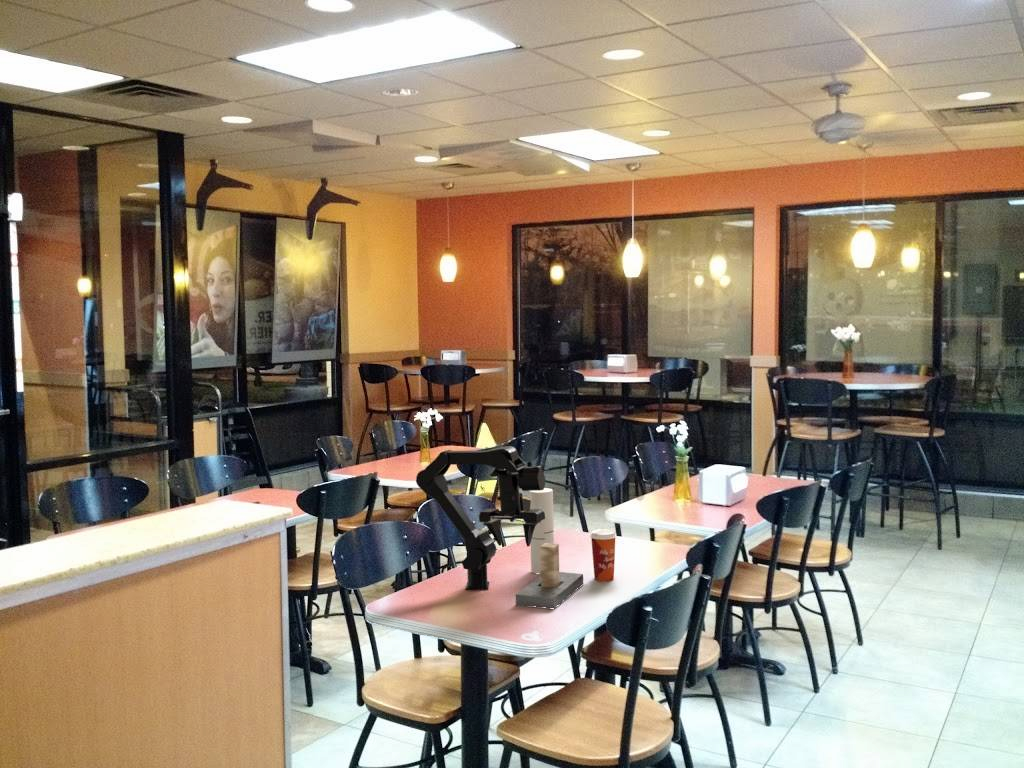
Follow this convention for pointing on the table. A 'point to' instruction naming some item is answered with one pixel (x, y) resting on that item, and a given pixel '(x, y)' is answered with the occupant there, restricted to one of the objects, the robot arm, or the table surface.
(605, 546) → the paper cup
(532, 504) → the cylindrical container
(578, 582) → the socket plate
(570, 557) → the table surface
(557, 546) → the maple peg
